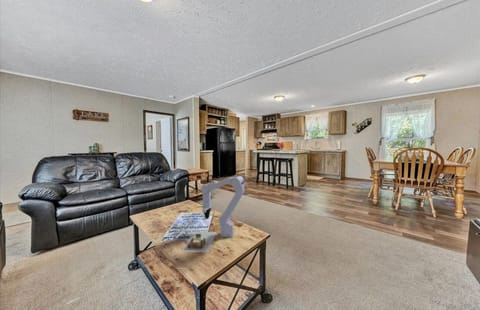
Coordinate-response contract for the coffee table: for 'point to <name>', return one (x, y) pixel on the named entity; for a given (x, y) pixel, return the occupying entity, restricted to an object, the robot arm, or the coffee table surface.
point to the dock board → (208, 239)
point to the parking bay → (196, 244)
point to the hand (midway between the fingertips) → (207, 218)
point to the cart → (198, 239)
